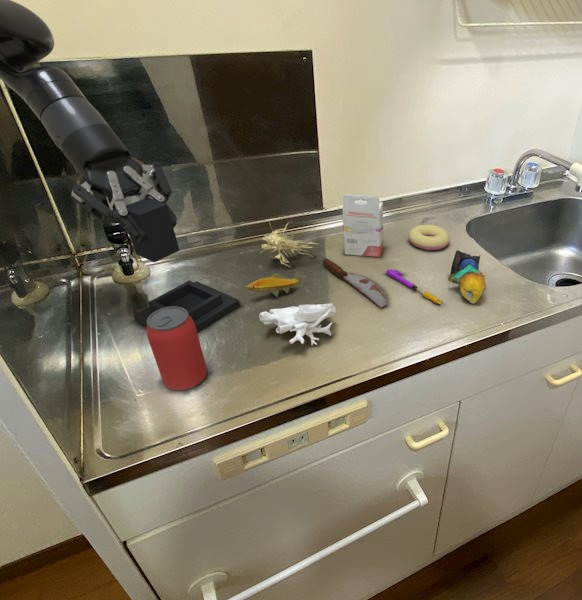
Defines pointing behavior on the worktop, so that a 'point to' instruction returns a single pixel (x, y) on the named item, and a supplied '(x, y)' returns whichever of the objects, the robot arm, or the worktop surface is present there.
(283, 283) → the yellow koi
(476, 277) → the figurine
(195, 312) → the base pad
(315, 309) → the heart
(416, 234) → the donut
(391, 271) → the marker pen
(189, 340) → the beer can
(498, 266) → the worktop surface
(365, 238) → the ink cartridge box
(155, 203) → the pad block
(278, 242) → the cream spiky piece
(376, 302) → the kitchen knife
